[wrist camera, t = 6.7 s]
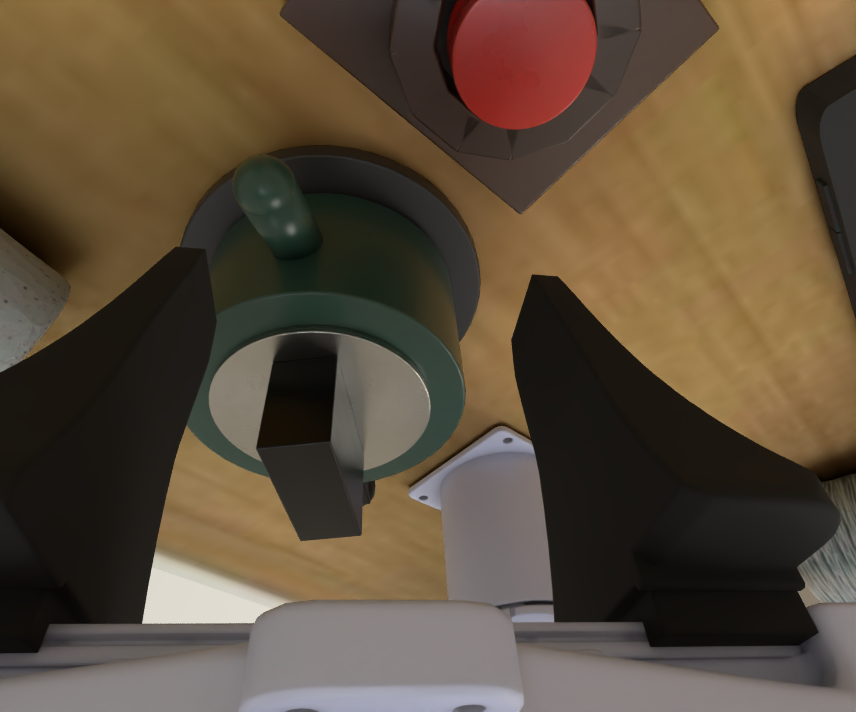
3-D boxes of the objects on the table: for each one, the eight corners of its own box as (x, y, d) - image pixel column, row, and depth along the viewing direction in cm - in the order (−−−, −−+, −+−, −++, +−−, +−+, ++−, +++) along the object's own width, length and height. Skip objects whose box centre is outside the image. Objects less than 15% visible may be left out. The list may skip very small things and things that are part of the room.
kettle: (460, 412, 29) (482, 594, 22) (268, 430, 29) (234, 616, 22) (437, 72, 18) (468, 238, 11) (124, 106, 18) (-27, 288, 11)
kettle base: (476, 129, 20) (479, 139, 19) (479, 371, 28) (481, 383, 28) (130, 160, 20) (123, 171, 19) (235, 392, 28) (232, 405, 28)
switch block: (705, 17, 18) (748, 48, 16) (515, 199, 22) (529, 243, 20) (472, -306, 13) (490, -325, 11) (283, 3, 17) (268, 34, 15)
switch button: (607, 28, 16) (627, 49, 14) (510, 130, 17) (520, 156, 16) (516, -81, 14) (530, -67, 13) (419, 45, 16) (421, 68, 14)
